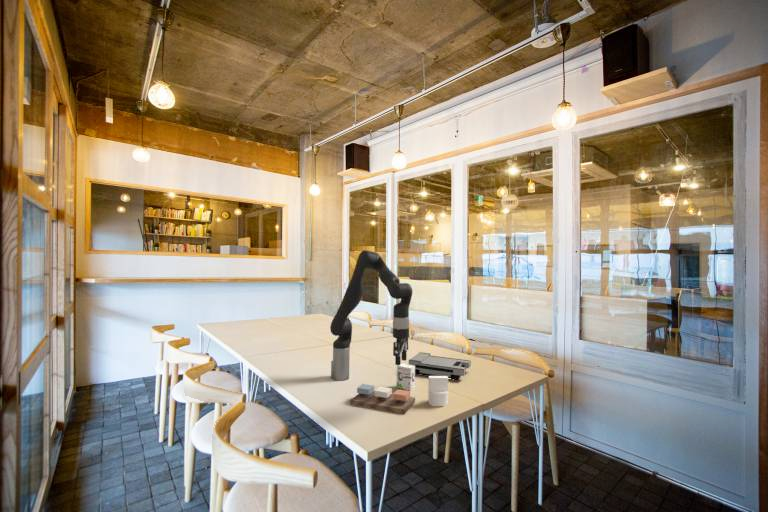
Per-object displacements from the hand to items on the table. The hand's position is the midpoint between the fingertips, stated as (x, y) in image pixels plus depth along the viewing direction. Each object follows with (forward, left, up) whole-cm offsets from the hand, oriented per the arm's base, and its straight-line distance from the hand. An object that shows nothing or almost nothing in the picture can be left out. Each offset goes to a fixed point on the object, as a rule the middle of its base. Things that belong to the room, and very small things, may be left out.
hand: (401, 362), depth 164 cm
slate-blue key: (-17, -2, -15) cm, 23 cm away
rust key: (+1, -2, -15) cm, 15 cm away
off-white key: (-8, -2, -15) cm, 17 cm away
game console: (+5, +55, -20) cm, 59 cm away
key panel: (-8, -2, -19) cm, 21 cm away
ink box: (-5, +21, -19) cm, 29 cm away
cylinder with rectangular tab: (+15, +9, -19) cm, 26 cm away
